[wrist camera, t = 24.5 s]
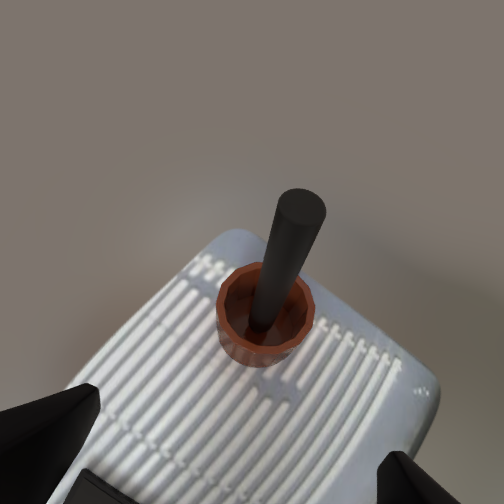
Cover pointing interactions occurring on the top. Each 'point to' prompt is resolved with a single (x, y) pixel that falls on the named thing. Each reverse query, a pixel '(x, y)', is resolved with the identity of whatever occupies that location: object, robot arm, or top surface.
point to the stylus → (285, 253)
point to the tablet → (94, 491)
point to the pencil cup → (267, 343)
